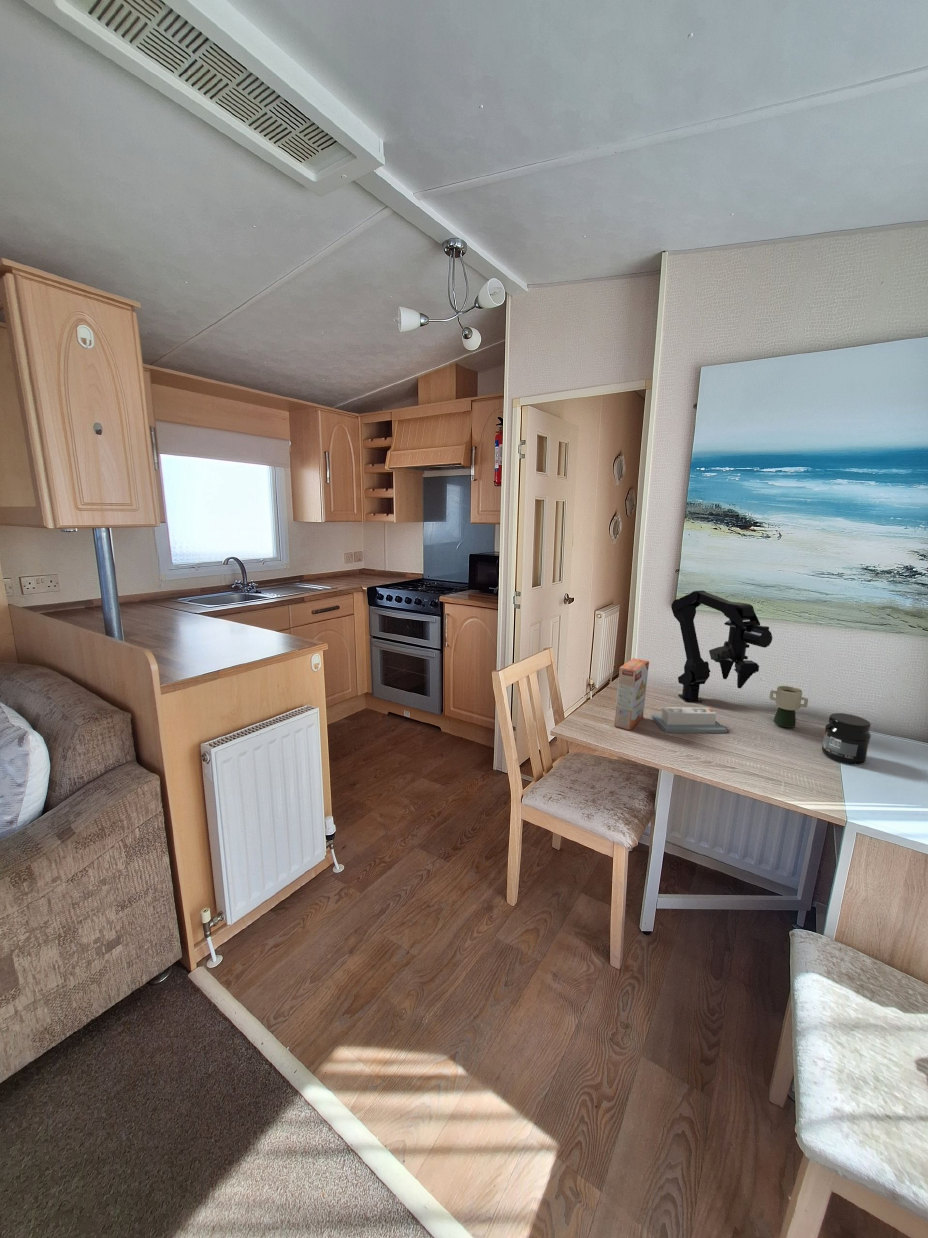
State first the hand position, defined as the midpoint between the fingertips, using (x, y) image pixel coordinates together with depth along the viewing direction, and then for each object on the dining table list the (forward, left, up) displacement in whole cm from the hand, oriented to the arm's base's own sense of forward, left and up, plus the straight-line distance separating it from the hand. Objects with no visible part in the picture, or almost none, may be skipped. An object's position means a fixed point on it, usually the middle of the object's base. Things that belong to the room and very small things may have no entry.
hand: (731, 683), depth 171 cm
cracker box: (+6, -37, -12) cm, 39 cm away
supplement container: (+30, +18, -12) cm, 37 cm away
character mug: (+8, +15, -12) cm, 21 cm away
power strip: (+8, -18, -11) cm, 23 cm away
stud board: (+8, -18, -12) cm, 23 cm away
